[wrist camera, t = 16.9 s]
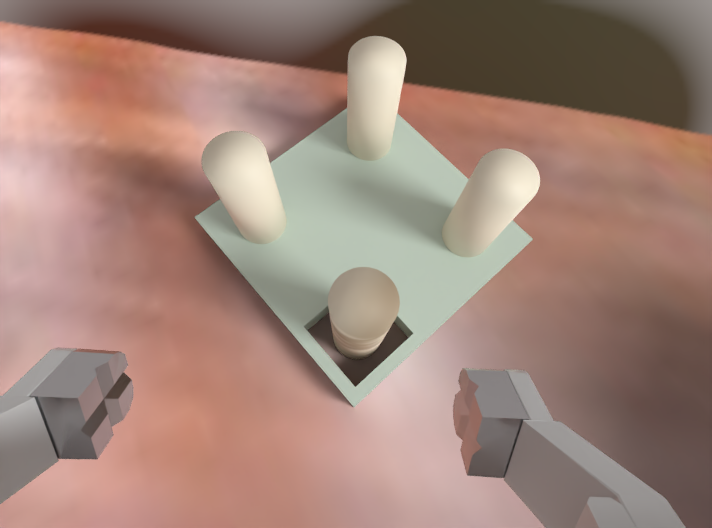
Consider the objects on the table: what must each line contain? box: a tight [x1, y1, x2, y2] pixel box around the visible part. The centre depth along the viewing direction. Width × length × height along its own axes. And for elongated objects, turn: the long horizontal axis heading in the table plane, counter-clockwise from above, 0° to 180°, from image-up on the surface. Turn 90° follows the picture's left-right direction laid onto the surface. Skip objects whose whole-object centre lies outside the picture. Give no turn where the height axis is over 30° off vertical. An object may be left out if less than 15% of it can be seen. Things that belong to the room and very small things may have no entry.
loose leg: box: [328, 267, 400, 360], centre depth 29 cm, size 4×4×12 cm
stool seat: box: [195, 36, 540, 407], centre depth 32 cm, size 20×20×12 cm
